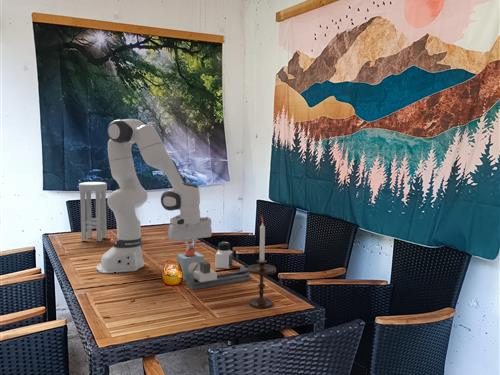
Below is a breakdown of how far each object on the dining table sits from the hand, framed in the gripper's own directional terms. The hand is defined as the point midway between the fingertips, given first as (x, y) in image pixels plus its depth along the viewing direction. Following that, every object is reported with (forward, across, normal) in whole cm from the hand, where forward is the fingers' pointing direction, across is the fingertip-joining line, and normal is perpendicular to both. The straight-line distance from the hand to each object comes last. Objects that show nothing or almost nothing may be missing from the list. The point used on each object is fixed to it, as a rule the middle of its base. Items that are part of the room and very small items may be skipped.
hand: (190, 248), depth 201 cm
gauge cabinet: (+13, 0, 0) cm, 13 cm away
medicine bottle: (+14, -21, -7) cm, 26 cm away
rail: (+13, -8, +13) cm, 20 cm away
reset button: (+5, 0, 0) cm, 5 cm away
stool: (+13, +24, -93) cm, 97 cm away
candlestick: (+14, -11, +44) cm, 47 cm away
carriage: (+11, -1, +13) cm, 17 cm away
